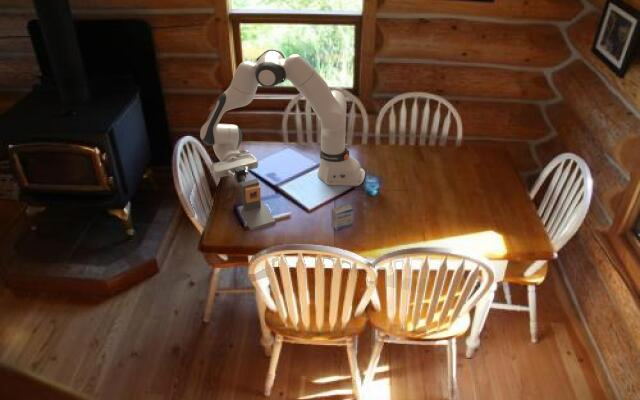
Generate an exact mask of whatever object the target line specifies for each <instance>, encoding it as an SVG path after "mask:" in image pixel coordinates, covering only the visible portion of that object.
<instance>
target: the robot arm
mask: <svg viewBox="0 0 640 400" xmlns="http://www.w3.org/2000/svg"><path fill="white" fill-rule="evenodd" d="M286 80H288V81H289V82H290V84H292V85H293V87H295V88H296V89H297V91H298V92H299V93H300V95H302V97H304V99H305V100H306V102H308V104H309V106H310V107H311V109H312V110H313V112H314V114H315V115H316V116H317V118H318V119H319V121H320V123H321V124H320V125H321V126H320V128H321V129H320V148H319V159H320V161H319V167H318V170H317V177H318V178H319V179H320V180H322V181H323V182H324V184H325V185H327V186H346V187H347V186H349V187H350V186H352V187H355V186H356V187H358V186H360V185H362V183H363V182H364V181H365V177H366V172H365V170H364V168H362V167H361V164H360V162H359V161H358V160H357V159H355V158H354V157H353V156H351V155H350V148H348V149H347V148H346V128H347V127H346V125H347V124H346V123H347V100H346V98H345V96H344V94H343V93H342V92H341V91H339V90H335V89H334V90H331V89H330V88H329V85H328V83H327V82H326V81H325V79H324V78H323V77H322V76H321V75H320V73H319V72H318V71H317V70H316V69H315V68H314V67H313V65H312V64H311V63H310V62H308V61H307V60H306V59H305V58H304V57H302V56H301V55H300V54H297V53H296V54H295V53H293V54H291V55H289V56H287V57H286V58H285V56H284V53H282V52H281V51H280V50H279V49H277V48H270V49H267V50H266V51H264V52H263V53H262V54H260V55H259V56H258V57H257V58H256V60H255V62H252V61H248V60H246V61H242V62H241V63H240V64H239V65H238V66H237V67H236V70H235V72H234V74H233V77H232V80H231V82H230V85H229V86H228V87H227V89H226V90H225V91H224V92H222V93H220V94H219V95H218V97H217V98H216V100H215V102H214V103H213V106H212V108H211V111H210V113H209V115H208V116H207V117H206V118H207V119H206V120H205V122H204V124H202V126H201V128H200V131H199V132H200V134H199V138H200V140H201V141H202V142H203V144H205V145H206V146H212V148H213V151H214V153H215V155H216V156H215V157H217V158H218V160H219V161H218V162H214V163H212V164H211V165H210V166H209V169H210V170H211V171H212V172H213V176H214V177H215V178H216V179H220V178H223V177H227V176H229V177H230V178H232V179H235V178H237V177H236V176H237V175H236V173H235V170H234V168H236V167H240V166H243V167H244V168H245V171H246V176H249V171H251V170H255V169H258V167H259V161H258V159H257V158H256V157H255V155H254V154H252V153H250V151H249V150H248V149H239V147H240V145H241V144H242V140H243V133H242V131H241V129H240V127H239V126H238V125H237V124H232V123H230V124H229V123H220V122H221V119H222V117H223V115H224V114H225V113H226V112H227V111H230V110H233V109H237V108H242V107H245V106H247V105H249V104H251V103H252V102H253V99H254V98H255V96H256V92H257V90H258V86H259V85H260V86H261V87H263V88H268V89H269V88H273V87H275V86H277V85H278V84H282V83H284V82H285V81H286Z"/></svg>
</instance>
